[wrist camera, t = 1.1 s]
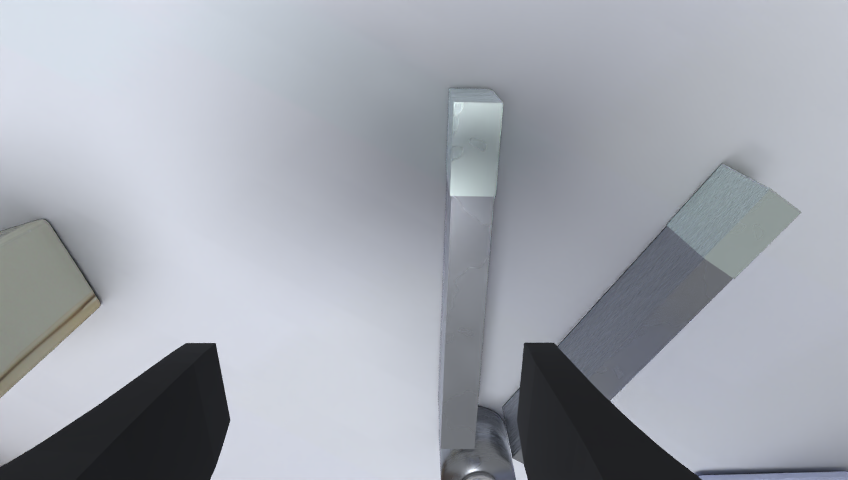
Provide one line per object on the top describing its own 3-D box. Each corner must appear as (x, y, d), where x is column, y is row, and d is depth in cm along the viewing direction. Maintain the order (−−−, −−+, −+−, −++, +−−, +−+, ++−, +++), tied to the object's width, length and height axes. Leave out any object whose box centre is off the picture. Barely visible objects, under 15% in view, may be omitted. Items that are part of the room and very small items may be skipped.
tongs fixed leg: (482, 467, 26) (490, 529, 23) (426, 439, 25) (426, 500, 22) (749, 184, 20) (809, 216, 17) (686, 137, 19) (737, 161, 16)
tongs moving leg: (469, 399, 24) (475, 449, 22) (437, 399, 24) (439, 448, 22) (491, 88, 19) (503, 103, 16) (449, 88, 19) (454, 102, 16)
